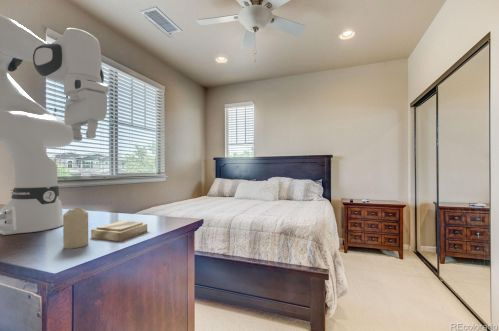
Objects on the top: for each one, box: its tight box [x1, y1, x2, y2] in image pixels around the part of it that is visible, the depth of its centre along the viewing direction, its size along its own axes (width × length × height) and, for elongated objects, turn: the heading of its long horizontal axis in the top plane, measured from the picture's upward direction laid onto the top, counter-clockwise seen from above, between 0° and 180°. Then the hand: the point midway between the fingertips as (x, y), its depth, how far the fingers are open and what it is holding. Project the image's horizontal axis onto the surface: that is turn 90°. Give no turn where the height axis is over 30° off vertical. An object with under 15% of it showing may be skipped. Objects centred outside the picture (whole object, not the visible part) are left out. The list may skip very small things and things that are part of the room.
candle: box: [62, 207, 89, 250], centre depth 67 cm, size 6×6×10 cm
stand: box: [90, 220, 148, 242], centre depth 77 cm, size 11×11×3 cm
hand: (84, 139), depth 69 cm, fingers open, 8 cm apart
